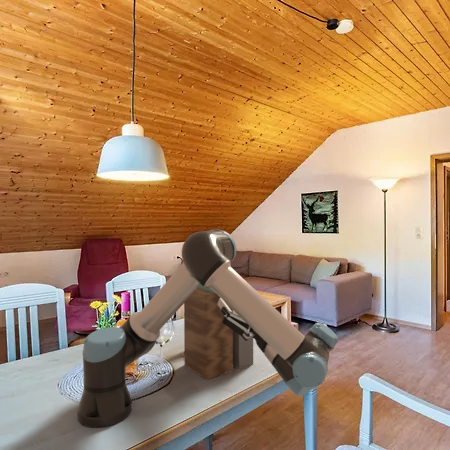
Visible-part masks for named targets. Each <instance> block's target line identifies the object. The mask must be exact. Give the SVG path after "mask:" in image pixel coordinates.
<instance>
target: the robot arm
mask: <svg viewBox="0 0 450 450" xmlns="http://www.w3.org/2000/svg"><path fill="white" fill-rule="evenodd" d="M236 255H237V244H236V241H235V239H234V237H233V236H232V235H231V234H230V233H228V232H227V231H225V230H221V229H218V228H217V229H211V230H202V231H196V232H193V233H192V234H190V235H189V236H188V237H187V238H186V239H185V241H184V242H183V244H182V248H181V260H182V263H181V265H180V266H179V267H178V268H177V270H176V271H174V272H173V274H172V275H171V276H170V277H169V279H167V280H166V281H165V283H164V284H163V285H162V286H161V287H160V289H159V290H158V291H157V292H156V293H155V295H154V296H153V297H152V298H151V299H150V300H149V302H148V303H146V304H145V306H144V307H143V308H142V309H141V311H136V312H133V313H131V315H130V316H129V317H128V318H127V319H126V321H125V322H124V323H123V324H122V325H121V326H120V327H116V326H114V327H113V326H109V327H103V328H102V329H101V328H100V329H97V330H95V331H92V332H91V333H89V334H88V335H87V336H86V337H85V339H84V341H83V350H82V359H83V360H82V362H83V363H82V364H83V365H82V366H83V370H82V371H83V391H82V394H81V397H80V400H79V404H78V407H77V421H78V422H79V423H80V424H81V425H83V426H85V427H88V428H89V427H90V428H103V427H105V428H106V427H109V426H113V425H116V424H118V423H120V422H122V421H124V420H125V419H127V418H128V417H129V416H130V414H131V413H132V411H133V400H132V397H131V394H130V391H129V389H128V385H127V383H126V382H127V380H126V377H127V376H126V370H127V369H126V368H127V367H128V366H130V365H131V364H133V363H134V362H135V361H137V360H139V359H140V358H142V356H145V355H147V354H149V353H150V351H151V350H152V349H153V348H154V346H155V345H156V344H157V343H156V342H157V340H158V339H159V338H160V337H161V329H162V328H163V327H164V326H165V325H166V323H168V321H170V319H171V318H172V317H173V316H174V315H175V314H176V313H177V312H178V310H179V309H180V308H182V306H184V303H185V302H186V301H187V300H188V298H189V297H190V296H191V295H192V294H193V293H194V292H195V291H196V290H197V289H198V287H199V286H200V285H202V286H203V287H204V288H211V289H212V290H213V291H214V292H215V293H216V294H217V295H218V296H219V297H220V299H219V302H218V306H219V307H220V309H221V312H222V314H223V315H224V317H223V320H222V323H223V324H225V325H226V326H227V327H229V328H230V329H232V330H233V331H235V332H236V333H238V334H239V335H241V336H242V337H243V339H244V340H245V341H248V339H249V338H250V337H253V340H255V343H256V345H257V347H258V348H259V350H260V351H261V352H262V353H263V354H264V356H265V358H266V359H267V360H268V362H270V364H271V365H272V367H273V368H274V370H275V371H276V373H278V375H279V376H280V378H281V380H282V381H283V382H284V383H285V385H286V386H287V387H288V388H289V390H290V391H291V392H292V393H293V394H294V396H297V397H300V396H304V395H307V394H308V393H309V392H310V391H312V389H315V388H317V387H319V386H321V385H322V384H323V383H324V381H325V380H326V377H327V374H328V371H329V369H328V368H329V367H328V365H329V358H330V353H331V351H333V350H334V349H335V347H336V345H338V342H339V338H338V336H337V334H336V333H335V332H334V331H333V330H332V329H331V328H330V327H329V326H327V325H325V324H324V323H322V322H315V324H313V326H311V328H309V329H308V331H307V332H306V333H305V335H304V334H303V333H302V332H301V331H299V329H298V330H297V329H296V328H295V327H294V326H293V325H292V324H291V323H290V322H289V321H290V320H288V319H287V318H286V317H284V315H282V313H280V311H278V310H277V308H275V306H273V305H272V304H271V303H270V302H269V301H268V300H266V298H265V297H263V295H261V294H260V293H259V292H258V291H257V290H256V289H255V288H254V287H253V286H251V284H249V282H248V281H246V280H245V279H244V278H243V277H242V276H241V275H240V274H239V273H238V272H237V271H236V270H235V269H233V267H232V266H231V264H232V263H233V261H234V259H235V257H236ZM226 303H227V304H228V305H229V306H230V307H231V308H232V309H233V310H234V311H235V312H236V313H237V314H238V315H239V316H240V317H241V318H240V317H238V316H236V315H233V314H231V313H232V311H231V310H230V308H229V307H228V306H227V304H226ZM230 317H231V318H230ZM249 326H250V329H249Z"/></svg>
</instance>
